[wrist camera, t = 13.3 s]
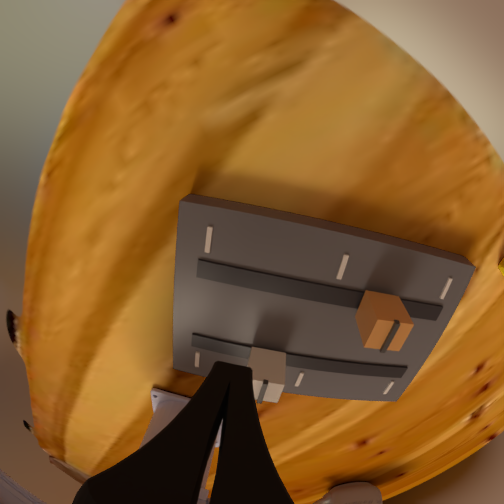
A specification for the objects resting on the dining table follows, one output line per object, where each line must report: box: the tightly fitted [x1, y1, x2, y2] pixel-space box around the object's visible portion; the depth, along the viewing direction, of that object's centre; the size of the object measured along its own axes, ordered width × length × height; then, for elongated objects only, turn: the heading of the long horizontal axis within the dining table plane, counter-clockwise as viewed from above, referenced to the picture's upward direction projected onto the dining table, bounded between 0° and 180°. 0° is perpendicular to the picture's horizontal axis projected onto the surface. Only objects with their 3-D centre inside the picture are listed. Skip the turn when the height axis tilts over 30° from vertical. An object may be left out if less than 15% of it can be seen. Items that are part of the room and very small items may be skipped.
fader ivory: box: [247, 347, 286, 403], centre depth 18 cm, size 2×2×3 cm
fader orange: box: [355, 290, 414, 353], centre depth 15 cm, size 2×2×3 cm
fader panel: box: [173, 194, 476, 401], centre depth 19 cm, size 14×20×2 cm
